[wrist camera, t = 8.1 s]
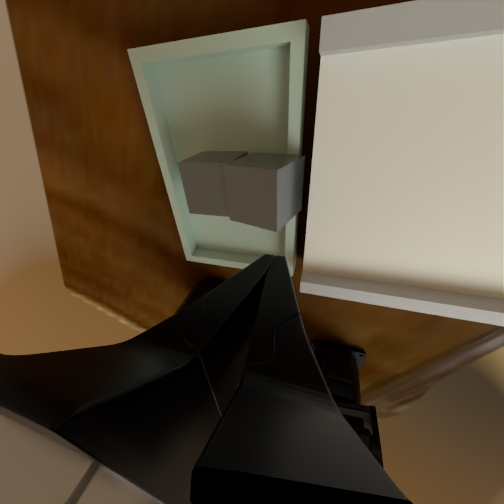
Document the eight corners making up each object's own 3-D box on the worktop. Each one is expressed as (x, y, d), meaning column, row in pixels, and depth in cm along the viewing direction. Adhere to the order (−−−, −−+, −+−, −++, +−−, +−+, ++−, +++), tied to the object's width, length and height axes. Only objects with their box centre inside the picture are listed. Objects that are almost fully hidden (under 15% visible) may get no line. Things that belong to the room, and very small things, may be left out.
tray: (295, 264, 24) (292, 276, 22) (195, 250, 27) (186, 260, 25) (309, 27, 13) (306, 18, 12) (146, 53, 17) (127, 49, 15)
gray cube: (234, 217, 17) (189, 213, 18) (250, 198, 20) (210, 196, 21) (228, 163, 15) (177, 162, 16) (247, 151, 18) (203, 151, 19)
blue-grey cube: (301, 209, 18) (276, 232, 15) (258, 201, 19) (229, 220, 17) (305, 155, 15) (276, 170, 13) (256, 152, 17) (222, 164, 15)
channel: (487, 285, 19) (521, 329, 15) (305, 261, 23) (299, 292, 20) (704, -19, 9) (926, -87, 6) (325, 36, 13) (321, 16, 10)
